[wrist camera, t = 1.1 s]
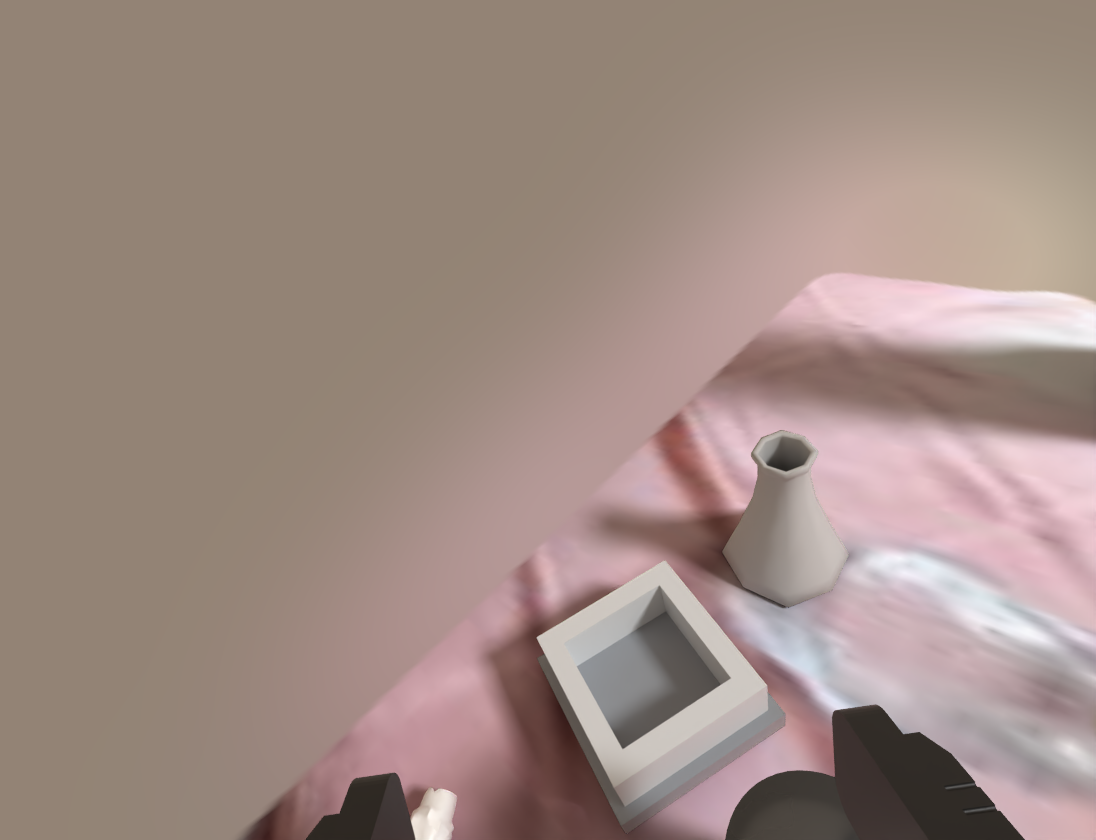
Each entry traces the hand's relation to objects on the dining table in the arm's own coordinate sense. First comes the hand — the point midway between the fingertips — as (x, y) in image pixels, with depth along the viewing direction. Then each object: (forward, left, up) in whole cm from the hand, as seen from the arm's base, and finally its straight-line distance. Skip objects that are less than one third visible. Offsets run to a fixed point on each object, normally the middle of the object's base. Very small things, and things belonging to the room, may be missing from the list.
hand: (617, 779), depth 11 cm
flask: (-16, -14, -24) cm, 32 cm away
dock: (-4, -11, -23) cm, 26 cm away
